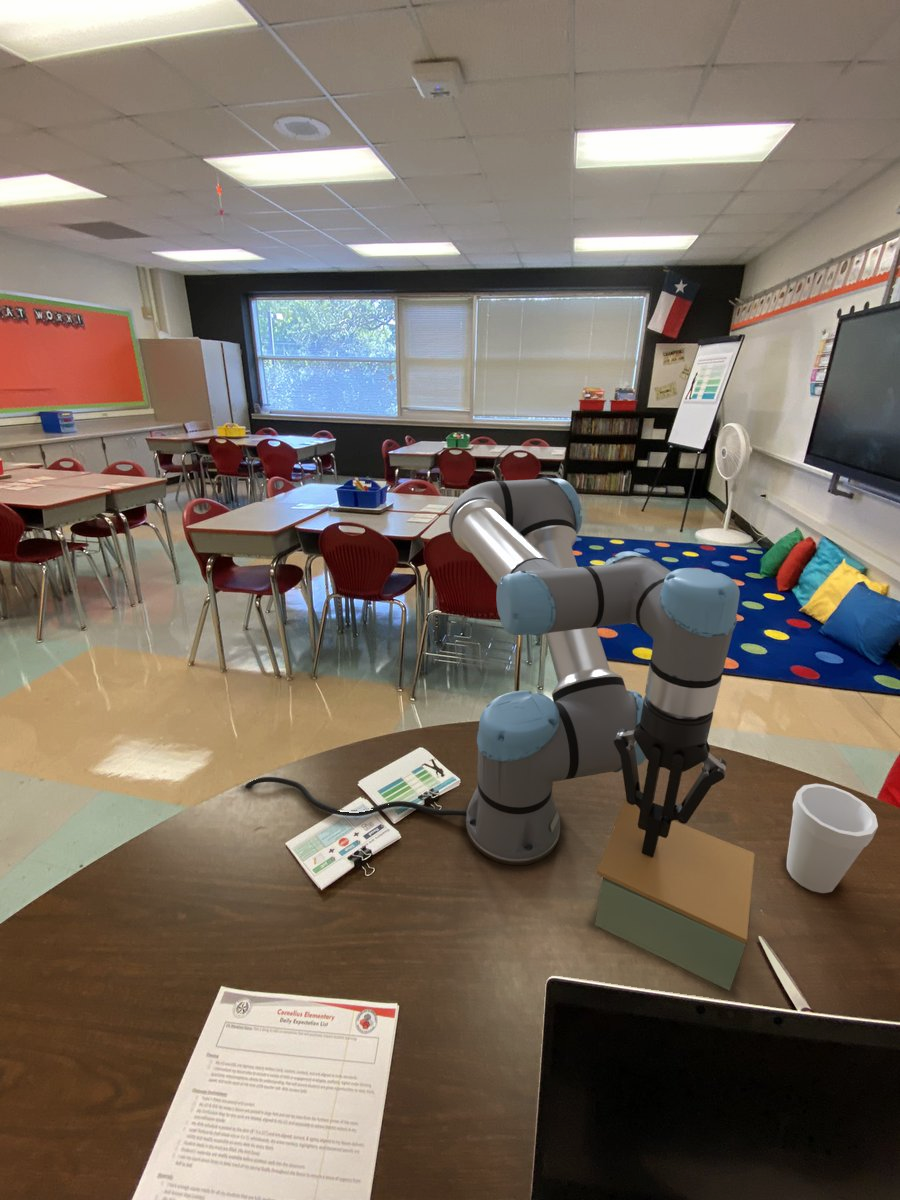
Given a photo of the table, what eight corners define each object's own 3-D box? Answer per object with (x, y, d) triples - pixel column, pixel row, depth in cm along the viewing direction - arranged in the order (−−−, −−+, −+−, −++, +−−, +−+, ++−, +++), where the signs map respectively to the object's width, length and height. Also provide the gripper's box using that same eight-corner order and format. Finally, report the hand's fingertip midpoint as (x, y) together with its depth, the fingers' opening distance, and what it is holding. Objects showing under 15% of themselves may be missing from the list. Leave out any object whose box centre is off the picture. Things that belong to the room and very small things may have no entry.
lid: (596, 874, 70) (596, 869, 69) (623, 804, 80) (623, 800, 80) (745, 944, 62) (747, 939, 61) (753, 857, 72) (755, 852, 72)
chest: (594, 925, 73) (601, 880, 70) (620, 852, 84) (628, 809, 80) (729, 991, 65) (745, 944, 62) (739, 901, 76) (753, 857, 72)
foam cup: (760, 859, 82) (781, 795, 77) (802, 839, 86) (824, 776, 80) (820, 913, 74) (848, 845, 69) (864, 888, 78) (894, 822, 72)
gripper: (744, 701, 62) (705, 847, 72) (629, 671, 68) (608, 810, 78) (738, 737, 56) (697, 892, 66) (613, 701, 63) (593, 847, 72)
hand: (649, 847), depth 72 cm, fingers closed
